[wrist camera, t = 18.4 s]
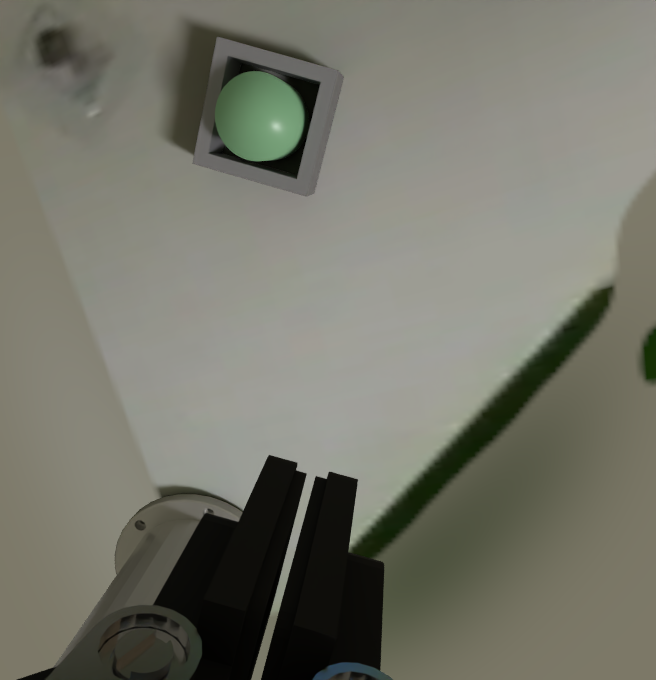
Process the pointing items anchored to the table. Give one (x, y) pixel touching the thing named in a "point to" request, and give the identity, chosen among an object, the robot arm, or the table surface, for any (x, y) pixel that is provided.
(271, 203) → the table surface
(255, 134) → the button
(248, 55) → the button housing
